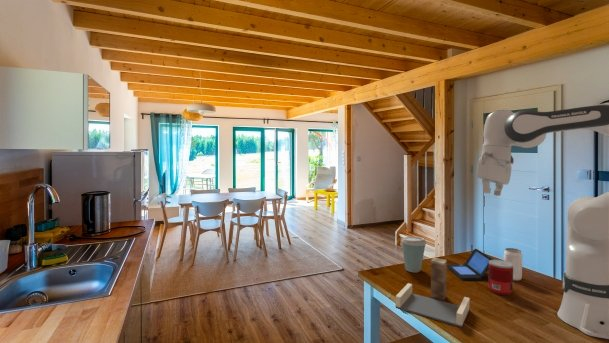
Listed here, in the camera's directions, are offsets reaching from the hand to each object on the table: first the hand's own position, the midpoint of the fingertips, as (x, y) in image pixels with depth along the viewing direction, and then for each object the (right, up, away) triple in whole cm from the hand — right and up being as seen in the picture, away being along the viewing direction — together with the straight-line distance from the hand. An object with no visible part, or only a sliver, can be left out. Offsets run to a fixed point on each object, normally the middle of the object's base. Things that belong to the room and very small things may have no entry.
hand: (492, 194), depth 110 cm
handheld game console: (+6, -37, +28) cm, 47 cm away
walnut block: (-16, -39, +6) cm, 42 cm away
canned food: (+9, -38, +10) cm, 41 cm away
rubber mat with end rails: (-22, -39, -3) cm, 45 cm away
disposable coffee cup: (-17, -37, +32) cm, 52 cm away
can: (+22, -37, +22) cm, 49 cm away
